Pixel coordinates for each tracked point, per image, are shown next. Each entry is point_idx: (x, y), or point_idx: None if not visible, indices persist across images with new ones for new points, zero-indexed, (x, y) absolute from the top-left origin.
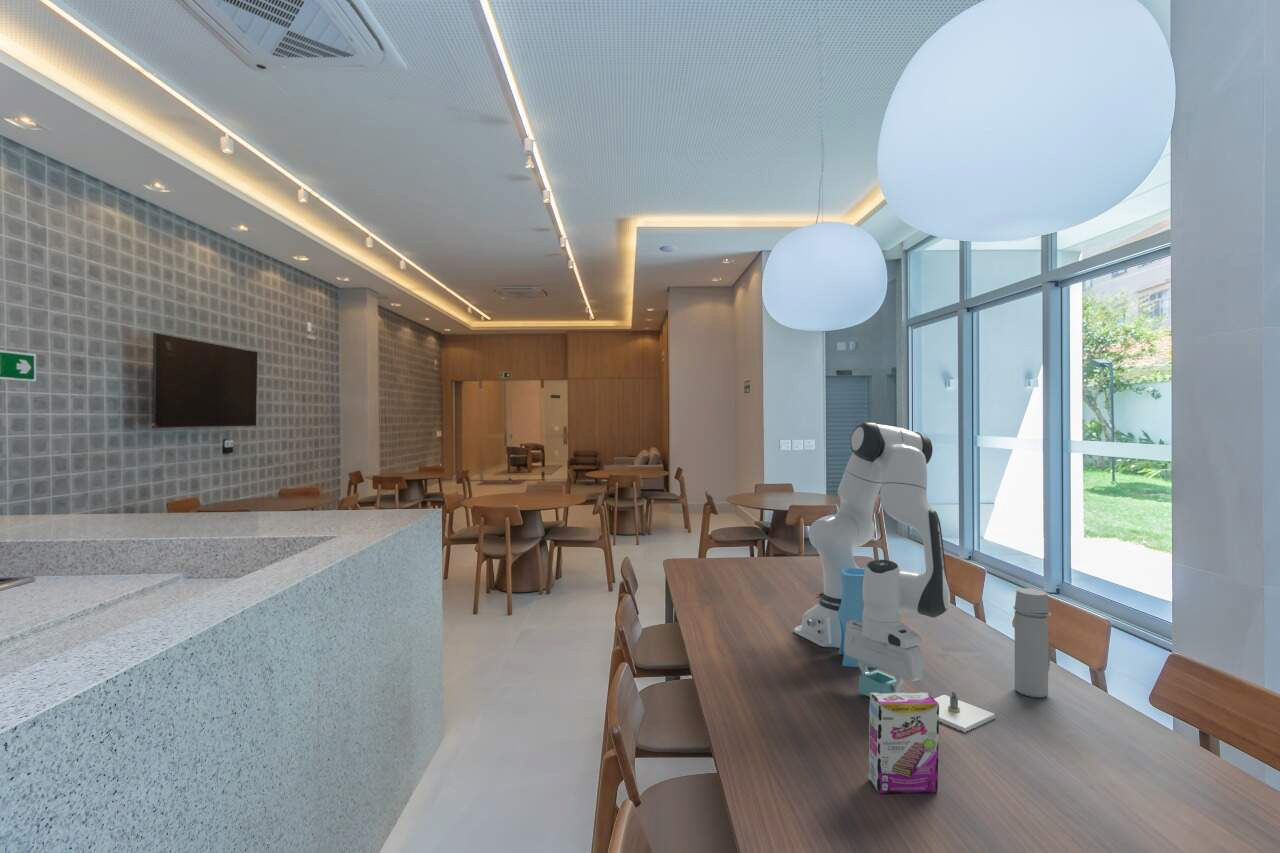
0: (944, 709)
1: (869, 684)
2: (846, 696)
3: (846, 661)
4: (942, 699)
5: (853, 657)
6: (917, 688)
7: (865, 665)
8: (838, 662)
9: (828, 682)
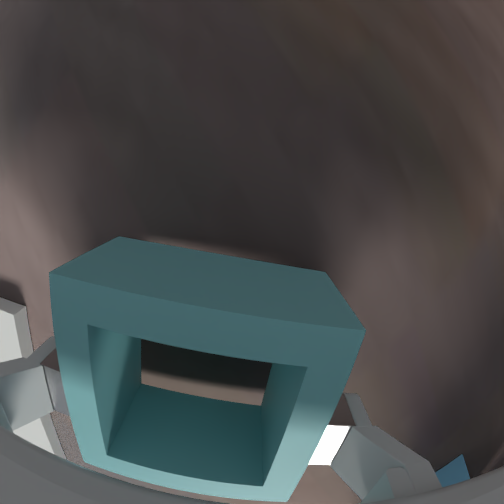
0: None
1: (219, 291)
2: (373, 197)
3: (457, 473)
4: (34, 438)
5: (490, 476)
6: (167, 492)
7: (367, 490)
8: (473, 456)
9: (495, 295)
